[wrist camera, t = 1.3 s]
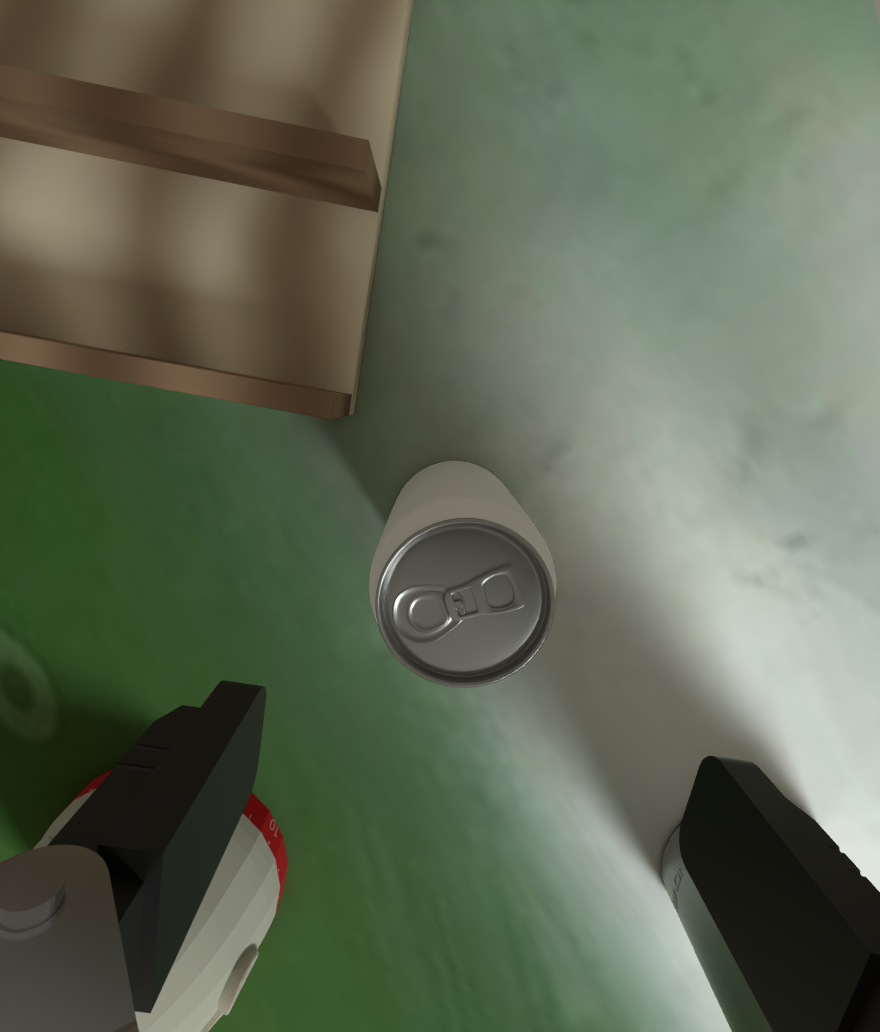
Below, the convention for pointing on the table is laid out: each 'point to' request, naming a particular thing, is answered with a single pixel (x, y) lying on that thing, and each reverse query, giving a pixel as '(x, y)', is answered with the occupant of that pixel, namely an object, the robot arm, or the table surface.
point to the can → (461, 578)
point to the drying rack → (197, 191)
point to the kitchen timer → (216, 922)
